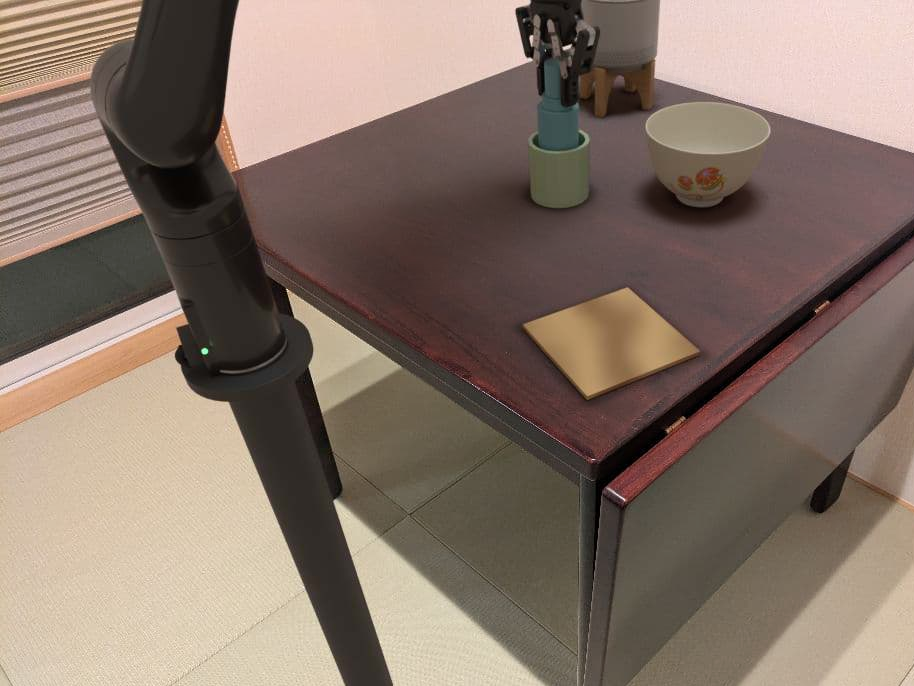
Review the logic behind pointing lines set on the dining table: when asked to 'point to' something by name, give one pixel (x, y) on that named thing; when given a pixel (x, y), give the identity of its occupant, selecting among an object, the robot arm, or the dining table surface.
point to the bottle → (556, 114)
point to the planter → (622, 48)
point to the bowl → (705, 149)
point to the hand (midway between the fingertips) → (557, 99)
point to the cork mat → (609, 342)
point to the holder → (559, 173)
